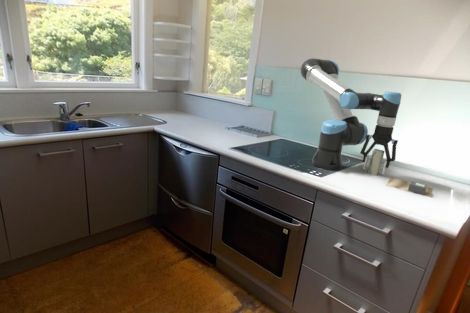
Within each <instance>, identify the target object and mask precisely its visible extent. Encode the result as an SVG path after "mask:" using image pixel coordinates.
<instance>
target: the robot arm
mask: <svg viewBox="0 0 470 313" xmlns="http://www.w3.org/2000/svg"><path fill="white" fill-rule="evenodd" d="M300 66H301V67H300V75H301V77H302V78H303V79H304V80H305V81H307V82H308V83H313V84H314V85H316V86H317V87H319V88H320V89H321V90H323V92H324V94H325V98H326V100H327V102H328V104H329V107H330V109H331V110H332V111H331V112H332V113H333V116H334V118H335V119H329V120H325V121H324V122H323V123H322V126H321V127H320V135H319V139H318V140H319V141H318V146H317V150H316V152H315V154H314V155H313V157H312V161H311V163H312V165H313V166H315V167H317V168H320V169H323V170H324V169H325V170H328V171H329V170H330V171H331V170H332V171H338V170H341V169H342V168H343V158H342V150H343V146H359V145H361V144H363V146H362V147H361V151H360V154H361V155H363V158H362V162H363V163H364V164H363V167H362V168H363V170H366V169H367V166H368V161H369V157H370V156H369V153H370V152H372V151H373V150H374V148H375V146H376V145H377V146H378V145H380V146H382V147H383V148H384V154H385V157H386V160H385V161H384V164H383V169H382V172H381V175H385V174H386V173H385V172H386V169H389V167H390V163H391V162H395V161H396V157H397V156H396V154H397V144H398V142H399V140H398V139H394V138H392V136H393V132H394V126H395V125H396V120H397V115H398V111H399V107H400V105H401V99H402V93H400V92H396V91H395V92H394V91H387V90H386V91H384V92H383V94H378V93H377V94H376V93H371V92H356V91H354V90H353V89H351V88H350V87H349V86H347V85H345V84H344V83H342V82H341V81H339V80H338V79H339V74H340V73H339V72H340V68H339V65H338V64H337V63H336V61H334V60H331V59H321V58H316V57H315V58H314V57H312V58H308V59H307V60H305V61H304V62H303V63H302V64H301V65H300ZM351 110H371V111H377V112H378V115H377V120H376V125H375V129H374V132H373V134H369V131H368V127H367V125H366V124H365V123H363V122H360V121H359V118H358V117H357V116H356V115H353V113H352V111H351ZM371 139H373V142H372V144H371V145H370V146H369V148H368V149H367V146H368V144H369V142H370V140H371ZM390 142H391V144H392V147H391V153H390V148H389V143H390ZM366 149H367V150H366Z"/></svg>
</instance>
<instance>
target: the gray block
mask: <svg viewBox="0 0 470 313" xmlns="http://www.w3.org/2000/svg"><path fill="white" fill-rule="evenodd" d="M410 182H411V183H410V185H409V189H408V191H407V192H409V191H411V192H410V193H412V192H414V193H413V194H416V193H418V194H417V195H419V194H421V195H420V196H423V195H424V194H425V191H426V188H427V187H428V185H427V184H423V183H419V182H415V181H410Z"/></svg>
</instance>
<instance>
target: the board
mask: <svg viewBox="0 0 470 313" xmlns="http://www.w3.org/2000/svg"><path fill="white" fill-rule="evenodd" d="M410 183H411V181H407V180H403V179H400V178H396V177H392V176H391V177H390V178H389V179H388V181H387V182H386V184H385V186H388V187H392V188H396V189H398V190H401V191H404V192H406V191H407V192H409V193H413V194H417V195H420V196H423V197H427V198H432V194H433V189H434V187H431V186H427V188H426V191H425V194H424V195H421V194H418V193H414V192H411V191H408V189H409V185H410Z"/></svg>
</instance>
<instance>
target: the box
mask: <svg viewBox="0 0 470 313" xmlns="http://www.w3.org/2000/svg"><path fill="white" fill-rule="evenodd" d="M371 152H372V153H371V158H370V161H369V164H368V169H367V174H370V175H372V176H373V175H374V176H378V175H379V174H380V170H381V167H382V162H383V159H384V155H385V150H383V149H382V150H381V149H378V148H375V149H374V148H373V149H372V151H371Z"/></svg>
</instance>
